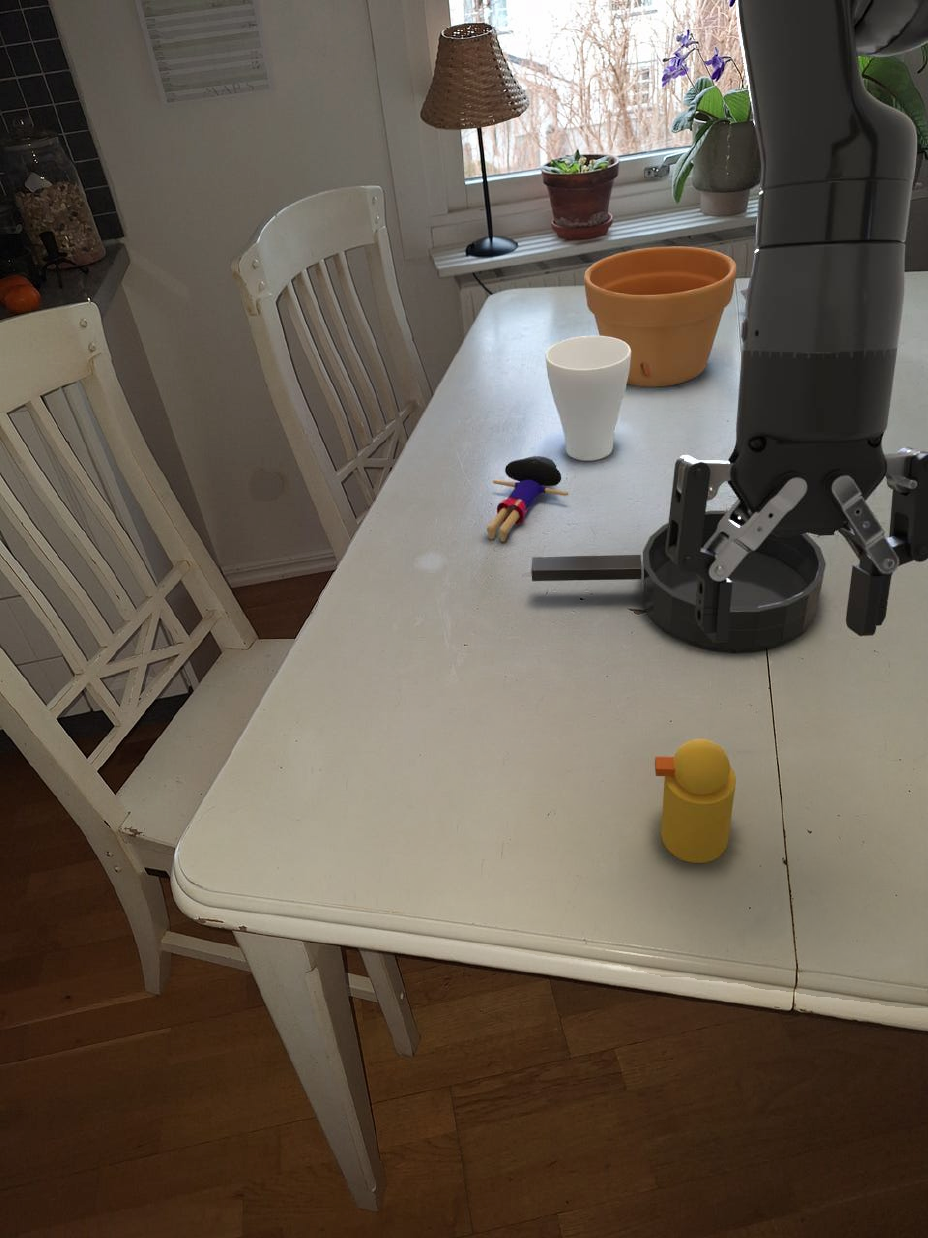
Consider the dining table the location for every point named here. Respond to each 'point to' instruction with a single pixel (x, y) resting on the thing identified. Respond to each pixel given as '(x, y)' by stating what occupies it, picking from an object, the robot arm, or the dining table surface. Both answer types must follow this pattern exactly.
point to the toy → (524, 491)
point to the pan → (738, 591)
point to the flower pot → (662, 308)
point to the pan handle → (586, 568)
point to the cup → (588, 391)
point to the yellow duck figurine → (696, 800)
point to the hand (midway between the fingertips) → (788, 634)
